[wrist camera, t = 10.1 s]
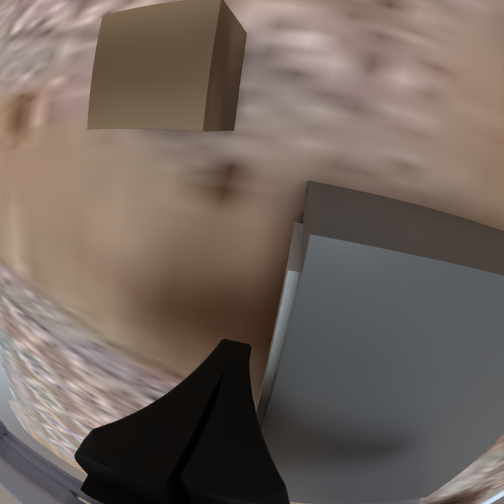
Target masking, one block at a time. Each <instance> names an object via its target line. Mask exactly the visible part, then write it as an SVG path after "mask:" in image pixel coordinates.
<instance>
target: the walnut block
mask: <svg viewBox="0 0 504 504" xmlns="http://www.w3.org/2000/svg"><path fill="white" fill-rule="evenodd" d="M246 34H247V33H246V32H245V30H244V29H243V27H242V26H241V24H240V23H239V22H238V20H237V19H236V17H235V16H234V14H233V13H232V12H231V10H230V9H229V7H228V6H227V5H226V3H225V2H224V1H223V0H185V1H176V2H168V3H161V4H155V5H149V6H143V7H138V8H133V9H129V10H124V11H120V12H116V13H112V14H108V15H104V16H103V17H102V22H101V26H100V31H99V36H98V41H97V47H96V53H95V59H94V66H93V73H92V81H91V89H90V100H89V112H88V128H87V130H89V129H174V130H192V131H234V126H235V117H236V109H237V101H238V93H239V85H240V77H241V70H242V62H243V55H244V48H245V41H246Z"/></svg>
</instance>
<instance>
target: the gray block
mask: <svg viewBox="0 0 504 504" xmlns="http://www.w3.org/2000/svg"><path fill="white" fill-rule="evenodd" d="M301 223H303V240H302V259H301V269H300V274H299V278H298V283H297V287H296V292H295V296H294V301H293V305H292V309H291V314H290V318H289V322H288V326H287V330H286V334H285V338H284V342H283V346H282V350H281V354H280V358H279V362H278V366H277V370H276V374H275V377H274V381H273V385H272V388H271V392H270V396H269V399H268V403H267V406H266V410H265V413H264V417H263V420H262V424H261V427H260V429H261V432H262V435H263V438H264V440H265V443H266V445H267V448H268V450H269V453H270V455H271V458H272V460H273V462H274V464H275V466H276V468H277V470H278V472H279V474H280V476H281V478H282V479H283V481H284V483H285V485H286V488H287V493H288V497H289V502H300V503H315V504H369V503H384V502H395V501H403V500H411V499H418V498H424V497H427V496H429V495H430V494H432V493H433V492H435V491H436V490H438V489H439V488H440V487H442V486H443V485H445V484H446V483H447V482H449V481H450V480H451V479H453V478H454V477H455V476H457V475H458V474H459V473H461V472H462V471H463V470H464V469H466V468H467V467H468V466H469V465H470V464H472V463H473V462H474V461H475V460H476V459H477V458H479V457H480V456H481V455H482V454H483V453H484V452H485V451H486V450H487V449H489V448H490V447H491V446H492V445H493V444H494V443H495V442H496V441H497V440H498V439H499V438H500V437H501V436H502V435H503V434H504V232H503V231H500V230H497V229H494V228H491V227H488V226H485V225H482V224H479V223H476V222H473V221H470V220H466V219H463V218H460V217H457V216H453V215H450V214H447V213H443V212H440V211H436V210H433V209H429V208H425V207H422V206H418V205H414V204H410V203H406V202H403V201H399V200H395V199H390V198H386V197H382V196H378V195H374V194H369V193H365V192H360V191H356V190H351V189H346V188H341V187H337V186H332V185H326V184H321V183H316V182H311V181H308V186H307V192H306V197H305V203H304V209H303V214H302V220H301Z"/></svg>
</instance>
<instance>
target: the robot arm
mask: <svg viewBox="0 0 504 504" xmlns="http://www.w3.org/2000/svg"><path fill="white" fill-rule="evenodd" d="M250 353H251V346H250V345H249V344H246V343H241V342H236V341H232V340H227V339H223V340H221V341H220V343H219V344H218V345H217V347H216V348H215V349H214V350H213V352H212V353H211V354H210V355H209V356H208V357H207V358H206V359H205V361H204V362H203V363H202V364H201V365H200V366H199V367H198V368H197V369H196V370H195V371H194V372H192V373H191V374H190V375H189V376H188V377H187V378H186V379H185V380H183V381H182V382H181V383H180V384H179V385H177V386H176V387H175V388H174V389H172V390H171V391H170V392H168V393H167V394H165V395H164V396H162V397H161V398H159V399H158V400H156V401H155V402H153V403H151V404H150V405H148V406H146V407H145V408H143V409H141V410H139V411H137V412H135V413H133V414H131V415H129V416H127V417H124V418H122V419H120V420H118V421H115V422H112V423H109V424H107V425H104V426H101V427H98V428H95V429H93V430H92V431H91V432H90V433H89V434H88V436H87V437H86V438H85V439H84V440H83V442H82V443H81V445H80V447H79V448H78V450H77V451H76V453H75V455H74V456H75V460H76V461H77V463H78V464H79V465H80V466H81V467H82V468H83V470H84V471H85V472H86V473H87V474H88V476H87V478H86V480H85V481H84V482H82V481H80V480H79V479H77V478H75V477H73V476H71V475H70V474H68V473H67V472H65V471H63V470H62V469H60V468H59V467H57V466H56V465H54V464H53V463H51V462H50V461H48V460H47V459H45V458H44V457H42V456H41V455H40V454H38V453H37V452H35V451H34V450H33V449H31V448H30V447H29V446H27V445H26V444H24V443H23V442H22V441H21V440H20V439H18V438H17V437H16V436H15V435H13V434H12V433H11V432H10V431H8V430H7V428H6V427H5V425H4V424H3V423H2V422H1V420H0V485H1V486H2V487H3V488H4V489H5V490H6V491H7V492H8V493H10V494H11V495H12V496H13V497H14V498H15V499H16V500H17V501H18V502H19V503H21V504H85V503H84V502H82V501H80V500H79V499H78V497H80V498H82V499H84V500H86V501H87V502H89V503H91V504H290V502H289V497H288V493H287V488H286V485H285V483H284V481H283V479H282V478H281V476H280V474H279V472H278V470H277V468H276V466H275V464H274V462H273V460H272V458H271V455H270V453H269V450H268V448H267V445H266V443H265V440H264V438H263V435H262V432H261V429H260V426H259V422H258V419H257V415H256V411H255V406H254V402H253V396H252V390H251V382H250V370H249V360H250ZM77 496H78V497H77ZM369 504H421V502H420V498H418V499H411V500H403V501H395V502H384V503H369Z"/></svg>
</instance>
